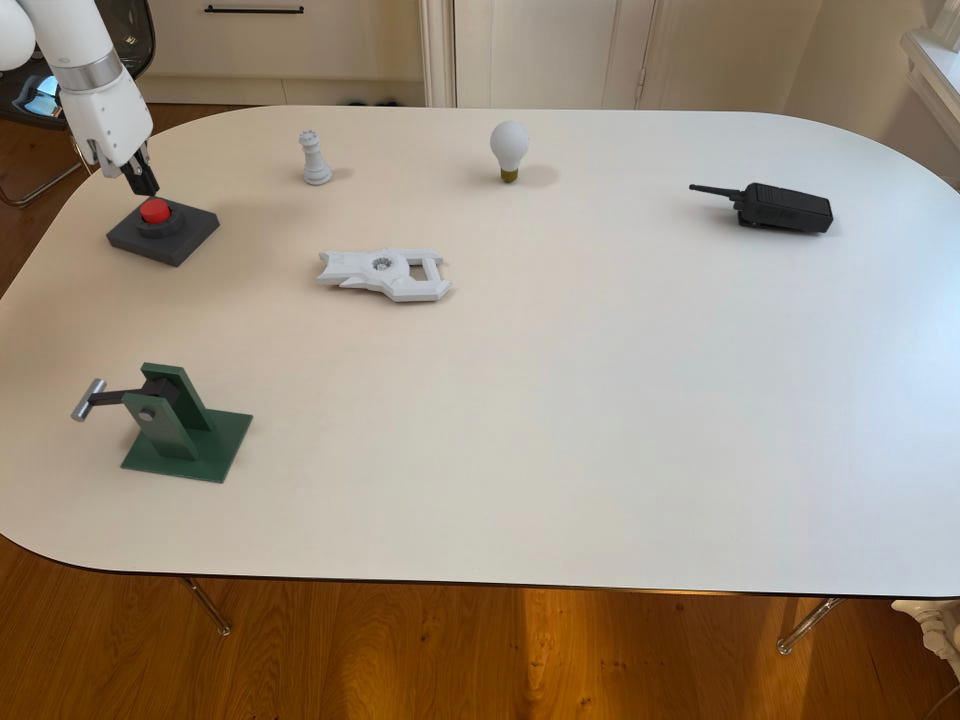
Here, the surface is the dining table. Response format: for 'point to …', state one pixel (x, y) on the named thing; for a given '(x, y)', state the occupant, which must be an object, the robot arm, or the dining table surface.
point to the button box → (164, 233)
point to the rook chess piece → (314, 159)
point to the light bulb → (509, 147)
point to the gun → (386, 272)
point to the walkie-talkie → (776, 207)
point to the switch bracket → (182, 431)
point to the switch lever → (100, 398)
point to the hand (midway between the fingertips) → (147, 192)
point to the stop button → (155, 211)
